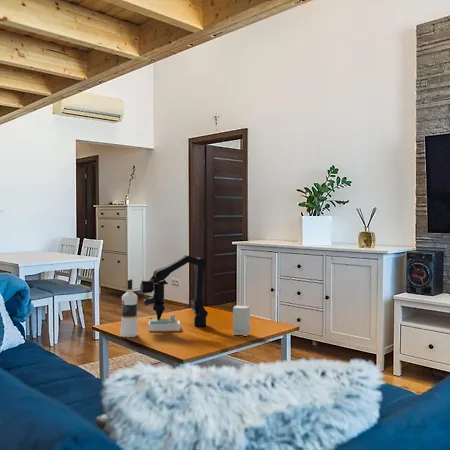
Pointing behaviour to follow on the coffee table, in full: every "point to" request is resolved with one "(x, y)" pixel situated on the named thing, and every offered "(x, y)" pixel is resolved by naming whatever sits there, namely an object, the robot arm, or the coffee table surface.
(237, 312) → the skincare box
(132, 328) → the vodka
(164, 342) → the coffee table surface
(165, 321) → the cover
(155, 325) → the channel
